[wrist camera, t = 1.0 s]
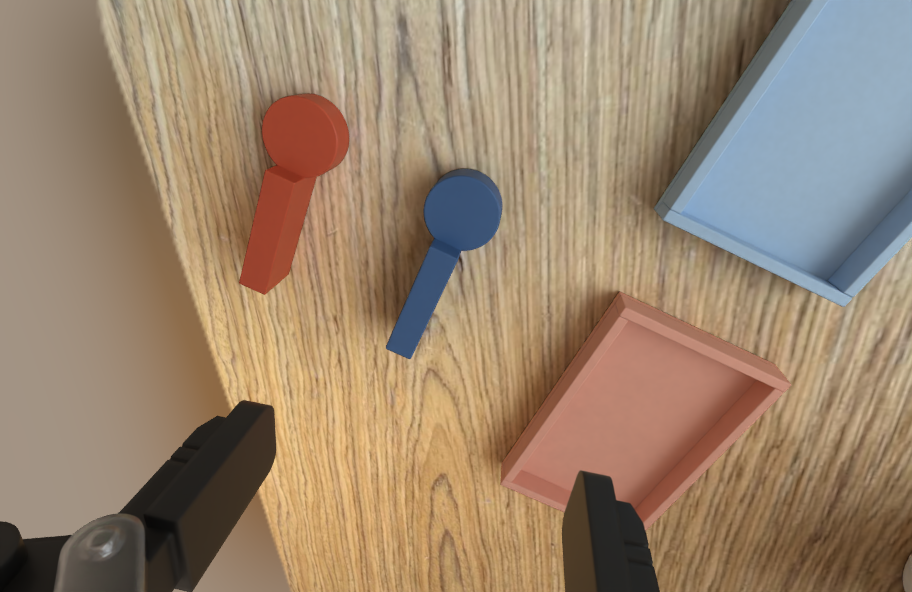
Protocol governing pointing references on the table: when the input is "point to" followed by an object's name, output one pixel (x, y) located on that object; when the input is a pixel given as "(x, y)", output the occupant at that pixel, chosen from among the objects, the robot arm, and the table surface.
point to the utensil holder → (908, 575)
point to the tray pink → (641, 411)
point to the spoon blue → (446, 246)
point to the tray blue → (811, 150)
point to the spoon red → (290, 181)
